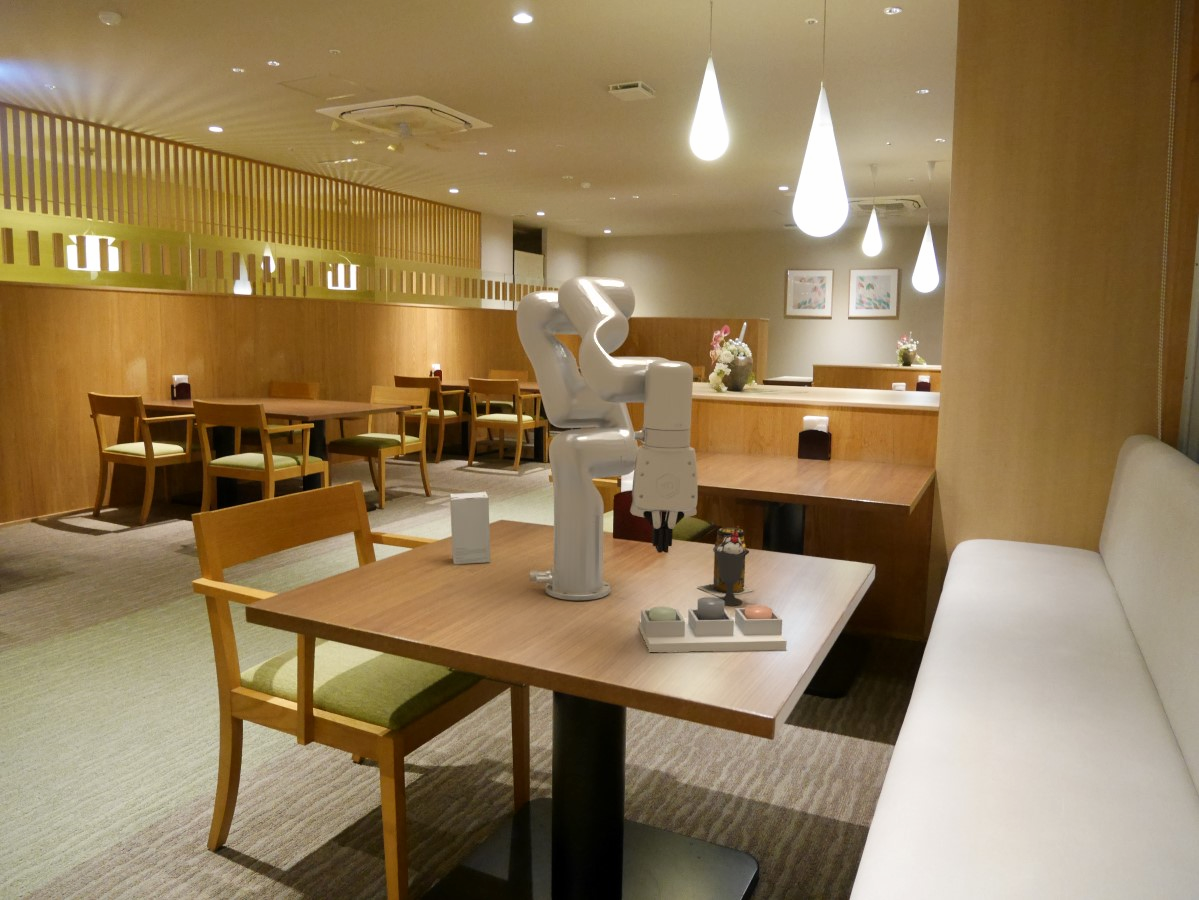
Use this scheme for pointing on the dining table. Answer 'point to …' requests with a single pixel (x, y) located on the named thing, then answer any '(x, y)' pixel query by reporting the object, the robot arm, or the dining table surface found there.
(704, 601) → the charcoal button
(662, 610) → the sage button
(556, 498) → the robot arm
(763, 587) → the dining table surface
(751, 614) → the terracotta button
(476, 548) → the skincare box
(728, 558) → the sundae
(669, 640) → the panel
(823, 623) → the dining table surface
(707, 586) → the condiment
